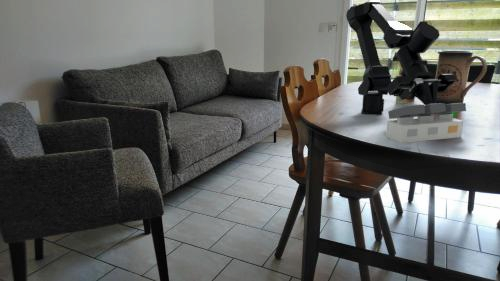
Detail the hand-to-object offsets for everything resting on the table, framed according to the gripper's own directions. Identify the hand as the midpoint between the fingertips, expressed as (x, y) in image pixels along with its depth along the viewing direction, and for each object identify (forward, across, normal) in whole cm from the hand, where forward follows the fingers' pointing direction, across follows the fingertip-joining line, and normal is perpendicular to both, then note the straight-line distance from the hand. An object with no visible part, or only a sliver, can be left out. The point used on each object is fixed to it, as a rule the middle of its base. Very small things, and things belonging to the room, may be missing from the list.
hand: (433, 110), depth 99 cm
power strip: (+7, +6, -1) cm, 9 cm away
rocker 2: (+2, +6, +4) cm, 7 cm away
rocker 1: (+2, +12, +4) cm, 13 cm away
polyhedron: (-3, -15, -12) cm, 20 cm away
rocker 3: (+2, 0, +4) cm, 4 cm away
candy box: (-24, -24, -36) cm, 49 cm away
